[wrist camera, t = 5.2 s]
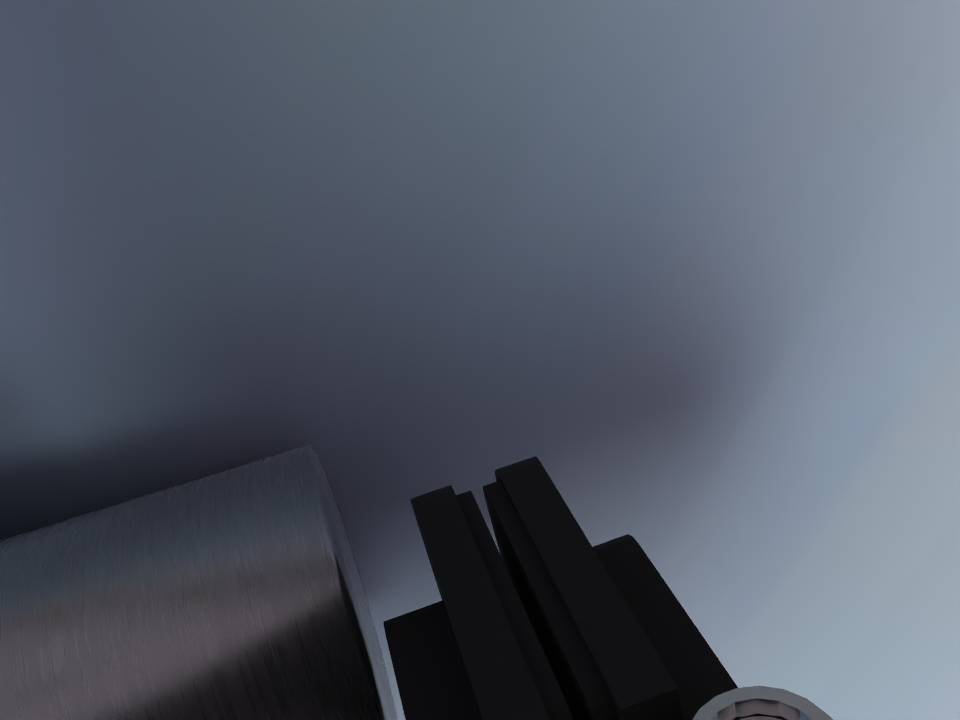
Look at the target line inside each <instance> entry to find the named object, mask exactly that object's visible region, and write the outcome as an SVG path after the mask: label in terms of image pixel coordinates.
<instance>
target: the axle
mask: <svg viewBox="0 0 960 720" xmlns="http://www.w3.org/2000/svg"><path fill="white" fill-rule="evenodd" d="M0 720H398V719H397V715H396V710H395V705H394V701H393V697H392V692H391V688H390V684H389V680H388V676H387V672H386V668H385V664H384V660H383V657H382V653H381V649H380V645H379V641H378V638H377V634H376V631H375V627H374V623H373V620H372V616H371V613H370V609H369V606H368V602H367V599H366V595H365V592H364V588H363V585H362V582H361V578H360V575H359V572H358V569H357V565H356V562H355V559H354V556H353V552H352V549H351V546H350V543H349V540H348V537H347V534H346V531H345V527H344V524H343V521H342V518H341V515H340V513H339V510H338V507H337V504H336V501H335V498H334V495H333V493H332V490H331V487H330V484H329V482H328V479H327V476H326V474H325V471H324V469H323V466H322V464H321V462H320V459H319V457H318V455H317V453H316V451H315V449H314V448H313V446H312V445H311V444H309V445H306V446H303V447H299V448H296V449H293V450H290V451H286V452H283V453H280V454H277V455H274V456H270V457H267V458H264V459H261V460H258V461H254V462H251V463H248V464H245V465H242V466H238V467H235V468H232V469H229V470H226V471H222V472H219V473H216V474H213V475H209V476H206V477H203V478H200V479H197V480H193V481H190V482H187V483H184V484H181V485H177V486H174V487H171V488H168V489H165V490H161V491H158V492H155V493H152V494H149V495H145V496H142V497H139V498H136V499H132V500H129V501H126V502H123V503H120V504H116V505H113V506H110V507H107V508H104V509H100V510H97V511H94V512H91V513H88V514H84V515H81V516H78V517H75V518H71V519H68V520H65V521H62V522H59V523H55V524H52V525H49V526H46V527H43V528H39V529H36V530H33V531H30V532H27V533H23V534H20V535H17V536H14V537H11V538H7V539H4V540H1V541H0Z"/></svg>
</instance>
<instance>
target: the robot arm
mask: <svg viewBox="0 0 960 720" xmlns="http://www.w3.org/2000/svg"><path fill="white" fill-rule="evenodd" d="M495 476H496V481H497V482H494V483H491V484H489V485H486V486H483V491H484V495H485V499H486V503H487V507H488V510H489V514H490V518H491V521H492V525H493V529H494V533H495V536H496V540H497V544H498V548H499V551H500V554H499V551H498V549H497V547H496V545H495V543H494V540H493V538H492V536H491V534H490V531H489V529H488V527H487V525H486V523H485V520H484V518H483V516H482V514H481V512H480V509H479V507H478V505H477V503H476V501H475V498H474V496H473V494H472V492H471V491H468V492H465V493H462V494H459V495H455V493H454V490H453V488H452V486H451V485H450V486H447V487H444V488H441V489H438V490H435V491H432V492H429V493H426V494H424V495H421V496H418V497H415V498H412V499H410V500H411V504H412V507H413V510H414V513H415V516H416V520H417V523H418V526H419V529H420V532H421V535H422V538H423V542H424V545H425V548H426V551H427V554H428V557H429V560H430V564H431V567H432V570H433V573H434V576H435V579H436V582H437V585H438V589H439V592H440V595H441V598H442V601H440V602H438V603H435V604H432V605H429V606H426V607H424V608H421V609H418V610H415V611H412V612H410V613H407V614H404V615H401V616H398V617H396V618H393V619H390V620H387V621H384V629H385V633H386V638H387V642H388V647H389V651H390V655H391V659H392V664H393V668H394V672H395V676H396V681H397V685H398V689H399V693H400V698H401V702H402V706H403V710H404V715H405V719H406V720H833V719H832V718H831V717H830V716H829V715H827V714H826V713H825V712H824V711H823V710H821V709H820V708H819V707H817V706H816V705H815V704H813V703H812V702H810V701H809V700H808V699H806V698H804V697H802V696H799V695H797V694H794V693H792V692H789V691H787V690H784V689H778V688H771V687H765V686H753V687H743V688H738V687H737V685H736V684H735V683H734V681H733V680H732V678H731V677H730V675H729V674H728V672H727V671H726V670H725V668H724V667H723V665H722V664H721V662H720V661H719V659H718V658H717V657H716V655H715V654H714V652H713V651H712V649H711V648H710V646H709V645H708V643H707V642H706V641H705V639H704V638H703V636H702V635H701V633H700V632H699V630H698V629H697V628H696V626H695V625H694V623H693V622H692V620H691V619H690V617H689V616H688V615H687V613H686V612H685V610H684V609H683V607H682V606H681V604H680V603H679V601H678V600H677V599H676V597H675V596H674V594H673V593H672V591H671V590H670V588H669V587H668V586H667V584H666V583H665V581H664V580H663V578H662V577H661V575H660V574H659V573H658V571H657V570H656V568H655V567H654V565H653V564H652V562H651V561H650V559H649V558H648V557H647V555H646V554H645V552H644V551H643V549H642V548H641V546H640V545H639V544H638V543H637V541H636V540H635V539H634V538H633V537H632V536H630V535H629V534H627V535H625V536H622V537H619V538H616V539H613V540H611V541H608V542H605V543H602V544H600V545H597V546H594V547H592V546H591V544H590V543H589V541H588V539H587V538H586V536H585V535H584V533H583V531H582V530H581V528H580V526H579V525H578V523H577V521H576V520H575V518H574V517H573V515H572V513H571V512H570V510H569V508H568V507H567V505H566V503H565V502H564V500H563V498H562V497H561V495H560V494H559V492H558V490H557V489H556V487H555V485H554V484H553V482H552V480H551V479H550V477H549V476H548V474H547V472H546V471H545V469H544V467H543V466H542V464H541V462H540V461H539V460H538V458H537V457H532V458H529V459H526V460H523V461H520V462H517V463H514V464H512V465H509V466H506V467H503V468H500V469H497V470H495ZM500 555H501V556H500Z"/></svg>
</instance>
